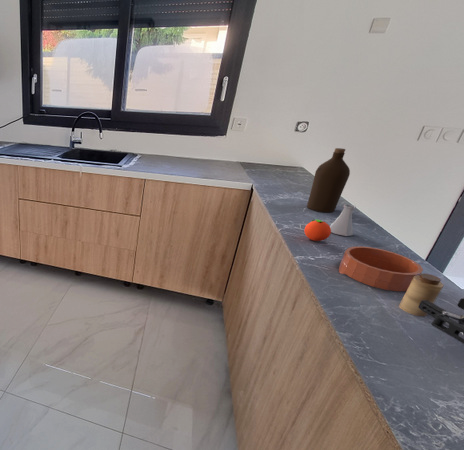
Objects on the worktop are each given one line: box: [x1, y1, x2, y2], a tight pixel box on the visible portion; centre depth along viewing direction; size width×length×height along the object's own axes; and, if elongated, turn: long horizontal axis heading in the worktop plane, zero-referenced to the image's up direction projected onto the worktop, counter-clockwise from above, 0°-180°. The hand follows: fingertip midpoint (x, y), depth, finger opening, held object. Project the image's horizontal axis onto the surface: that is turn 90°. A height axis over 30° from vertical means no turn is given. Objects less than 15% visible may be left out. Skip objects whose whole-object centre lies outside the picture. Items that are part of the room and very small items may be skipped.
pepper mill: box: [398, 272, 444, 317], centre depth 69 cm, size 4×4×10 cm
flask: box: [329, 203, 357, 237], centre depth 108 cm, size 7×7×10 cm
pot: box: [338, 245, 424, 292], centre depth 83 cm, size 15×15×6 cm
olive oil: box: [306, 147, 351, 213], centre depth 126 cm, size 11×11×25 cm
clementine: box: [303, 219, 332, 242], centre depth 104 cm, size 8×7×7 cm
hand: (440, 302), depth 65 cm, fingers open, 8 cm apart
